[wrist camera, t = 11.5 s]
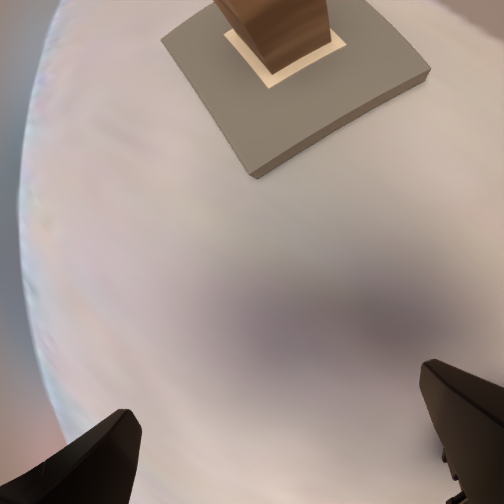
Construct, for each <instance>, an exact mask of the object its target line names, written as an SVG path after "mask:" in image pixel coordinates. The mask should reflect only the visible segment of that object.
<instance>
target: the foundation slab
mask: <svg viewBox="0 0 504 504" xmlns="http://www.w3.org/2000/svg"><path fill="white" fill-rule="evenodd" d="M326 3H327V9H328V17H329V24H330V33H331V41H332V42H330V43H328V44H326V45H324V46H322V47H321V48H319V49H317V50H315V51H313V52H311V53H309V54H308V55H306V56H304V57H302V58H300V59H299V60H297V61H295V62H293V63H292V64H290V65H288V66H287V67H285V68H283V69H281V70H280V71H278V72H276V73H275V74H273V75H272V74H271V73H270V72H269V71H268V69H267V68H266V67H265V66H264V65H263V63H262V62H261V61H260V60H259V59H258V58H257V56H256V55H255V54H254V53H253V52H252V51H251V50H250V48H249V47H248V46H247V45H246V44H245V43H244V42H243V41H242V39H241V38H240V37H239V36H238V35H237V34H236V32H235V31H234V29H233V28H232V26H231V25H230V23H229V22H228V21H227V19H226V18H225V16H224V15H223V13H222V12H221V10H220V9H219V8H218V6H217V5H216V3H215V2H213V3H212V4H210V5H208V6H207V7H205V8H204V9H202V10H201V11H199V12H198V13H196V14H195V15H193V16H192V17H190V18H189V19H188V20H186V21H185V22H183V23H182V24H181V25H179V26H178V27H176V28H175V29H174V30H172V31H171V32H170V33H168V34H167V35H166V36H164V37H163V38H162V39H161V42H162V43H163V44H164V46H165V47H166V49H167V50H168V52H169V53H170V55H171V56H172V57H173V59H174V60H175V62H176V63H177V65H178V66H179V68H180V69H181V71H182V72H183V74H184V75H185V77H186V78H187V80H188V81H189V83H190V84H191V86H192V87H193V89H194V90H195V92H196V93H197V95H198V96H199V98H200V99H201V101H202V102H203V104H204V105H205V107H206V108H207V110H208V111H209V113H210V114H211V116H212V118H213V119H214V121H215V122H216V124H217V125H218V127H219V128H220V130H221V132H222V133H223V135H224V136H225V138H226V139H227V141H228V142H229V144H230V146H231V147H232V149H233V150H234V152H235V154H236V155H237V157H238V158H239V160H240V162H241V163H242V165H243V166H244V168H245V170H246V171H247V173H248V174H249V175H250V176H252V177H254V178H256V179H258V178H260V177H261V176H263V175H265V174H266V173H268V172H269V171H271V170H272V169H274V168H275V167H277V166H279V165H280V164H282V163H283V162H285V161H286V160H288V159H290V158H291V157H293V156H294V155H296V154H298V153H299V152H301V151H302V150H304V149H306V148H307V147H309V146H310V145H312V144H314V143H315V142H317V141H319V140H320V139H322V138H324V137H325V136H327V135H329V134H330V133H332V132H334V131H335V130H337V129H339V128H340V127H342V126H344V125H345V124H347V123H349V122H351V121H352V120H354V119H356V118H357V117H359V116H361V115H363V114H364V113H366V112H368V111H370V110H372V109H373V108H375V107H377V106H379V105H380V104H382V103H384V102H386V101H388V100H390V99H391V98H393V97H395V96H397V95H399V94H401V93H402V92H404V91H406V90H408V89H410V88H412V87H414V86H416V85H417V84H419V83H421V82H423V81H425V79H426V77H427V76H428V74H429V72H430V70H431V67H430V66H429V65H428V64H427V62H426V61H425V60H424V59H423V58H422V57H421V55H420V54H419V53H418V52H417V51H416V50H415V49H414V48H413V46H412V45H411V44H410V43H409V42H408V41H407V40H406V39H405V38H404V37H403V36H402V35H401V34H400V33H399V32H398V31H397V30H396V29H395V28H394V27H393V26H392V25H391V24H390V23H389V22H388V21H387V20H386V19H385V18H384V17H383V16H382V15H381V14H380V13H379V12H378V11H376V10H375V9H374V8H373V7H372V6H371V5H370V4H369V3H367V2H366V1H365V0H326Z"/></svg>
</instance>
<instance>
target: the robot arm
mask: <svg viewBox="0 0 504 504" xmlns="http://www.w3.org/2000/svg"><path fill="white" fill-rule="evenodd" d="M419 385H420V390H421V393H422V395H423V398H424V401H425V403H426V406H427V409H428V411H429V414H430V417H431V420H432V422H433V425H434V428H435V430H436V432H437V434H438V436H439V438H440V440H441V442H442V444H443V446H444V449H443V450H444V453H443V456H442V460H443V462H444V463H447V462H448V466H449V469H450V472H451V476H452V479H453V480H454V481H456V480H458V481H459V484H460V487H461V492H460V493H459V494H457V495H456V496H455V497H452V498H450V499H449V500H447V501H446V504H504V388H503V387H501V386H498V385H496V384H494V383H491V382H489V381H486V380H484V379H482V378H479V377H477V376H474V375H472V374H470V373H467V372H465V371H463V370H460V369H458V368H456V367H453V366H451V365H449V364H446V363H444V362H442V361H439V360H437V359H431V360H428V361H426V362H424V363H423V364H422V366H421V374H420V383H419ZM141 436H142V428H141V425H140V424H139V422H138V420H137V419H136V417H135V416H134V414H133V412H132V411H131V410H129V409H118V410H117V411H115V412H114V413H112V414H111V415H110V416H108V417H107V418H106V419H104V420H103V421H101V422H100V423H99V424H97V425H96V426H94V427H93V428H92V429H90V430H89V431H87V432H86V433H85V434H83V435H82V436H80V437H79V438H77V439H76V440H75V441H73V442H72V443H70V444H69V445H67V446H66V447H64V448H63V449H62V450H60V451H59V452H57V453H56V454H54V455H53V456H51V457H50V458H48V459H47V460H45V462H42V463H41V464H39V465H38V466H36V467H34V468H33V469H31V470H30V471H28V472H26V473H25V474H23V475H21V476H19V477H17V478H15V479H14V480H12V481H10V482H8V483H6V484H4V485H2V486H0V504H129V500H130V496H131V492H132V487H133V483H134V479H135V475H136V471H137V465H138V458H139V450H140V443H141Z"/></svg>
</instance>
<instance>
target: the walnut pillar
mask: <svg viewBox="0 0 504 504" xmlns="http://www.w3.org/2000/svg"><path fill="white" fill-rule="evenodd" d="M213 1H214V2H215V3H216V5H217V6H218V8H219V9H220V10H221V12H222V13H223V15H224V16H225V18H226V19H227V21H228V22H229V23H230V25H231V26H232V28H233V29H234V31H235V32H236V34H237V35H238V36H239V37H240V38H241V39H242V41H243V42H244V43H245V44H246V45H247V46H248V47H249V48H250V50H251V51H252V52H253V53H254V54H255V55H256V56H257V58H258V59H259V60H260V61H261V62H262V63H263V65H264V66H265V67H266V68H267V69H268V71H269V72H270V73H271V74H272V75H273V74H275V73H276V72H278V71H280V70H281V69H283V68H285V67H287V66H288V65H290V64H292V63H293V62H295V61H297V60H299V59H300V58H302V57H304V56H306V55H308V54H309V53H311V52H313V51H315V50H317V49H319V48H321V47H322V46H324V45H326V44H328V43H330V42H332V41H331V33H330V24H329V17H328V9H327V3H326V0H213Z"/></svg>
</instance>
